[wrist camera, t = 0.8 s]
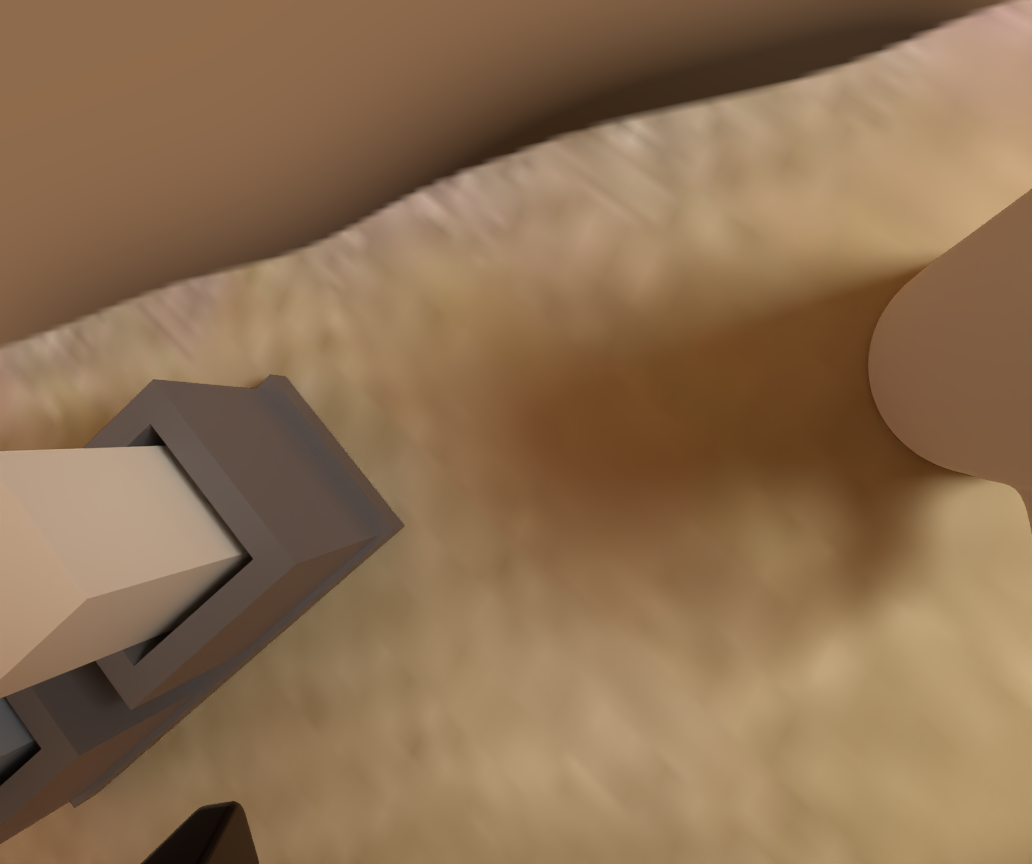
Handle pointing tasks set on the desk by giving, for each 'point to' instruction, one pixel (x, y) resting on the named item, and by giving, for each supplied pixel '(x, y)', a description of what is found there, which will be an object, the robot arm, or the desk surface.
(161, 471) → the beige block
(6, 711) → the slate key
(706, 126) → the desk surface
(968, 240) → the mug
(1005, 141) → the desk surface
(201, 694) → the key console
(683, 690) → the desk surface
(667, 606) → the desk surface
